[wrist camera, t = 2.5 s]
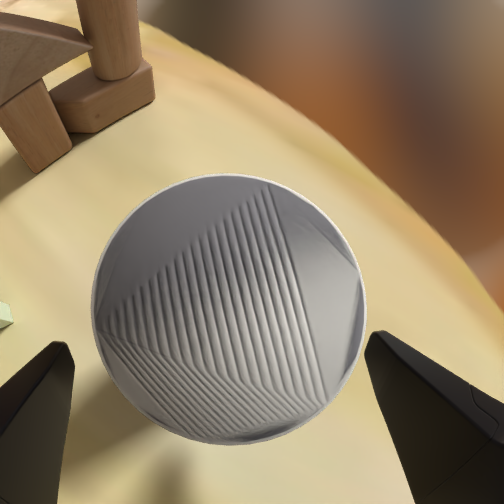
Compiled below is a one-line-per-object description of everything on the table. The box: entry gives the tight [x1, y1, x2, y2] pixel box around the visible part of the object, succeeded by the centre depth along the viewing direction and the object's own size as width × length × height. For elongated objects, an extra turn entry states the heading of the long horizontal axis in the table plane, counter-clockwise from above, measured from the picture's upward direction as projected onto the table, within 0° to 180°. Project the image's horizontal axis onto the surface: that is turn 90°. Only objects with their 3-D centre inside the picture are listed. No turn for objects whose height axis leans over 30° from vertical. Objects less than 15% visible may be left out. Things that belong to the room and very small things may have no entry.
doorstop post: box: [91, 173, 367, 445], centre depth 11 cm, size 4×4×13 cm
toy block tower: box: [0, 0, 155, 173], centre depth 12 cm, size 4×11×18 cm, turn 130°
